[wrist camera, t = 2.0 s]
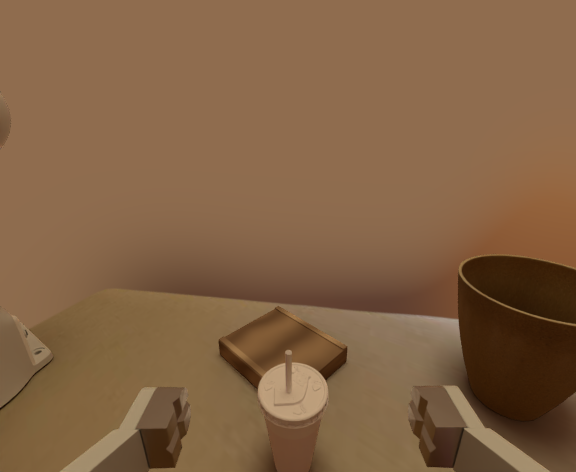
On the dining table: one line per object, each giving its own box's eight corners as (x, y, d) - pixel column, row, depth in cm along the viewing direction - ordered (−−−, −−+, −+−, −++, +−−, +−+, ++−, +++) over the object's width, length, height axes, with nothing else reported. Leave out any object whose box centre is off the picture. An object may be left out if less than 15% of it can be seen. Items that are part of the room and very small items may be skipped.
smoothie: (247, 462, 30) (239, 350, 25) (290, 418, 34) (290, 316, 29) (295, 515, 26) (296, 394, 21) (337, 458, 30) (346, 347, 25)
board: (220, 354, 44) (218, 339, 43) (279, 319, 52) (278, 305, 51) (286, 415, 35) (286, 398, 34) (346, 361, 43) (347, 345, 42)
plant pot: (464, 338, 47) (487, 244, 41) (594, 402, 36) (649, 286, 31) (414, 387, 38) (435, 277, 33) (565, 491, 27) (635, 352, 22)
